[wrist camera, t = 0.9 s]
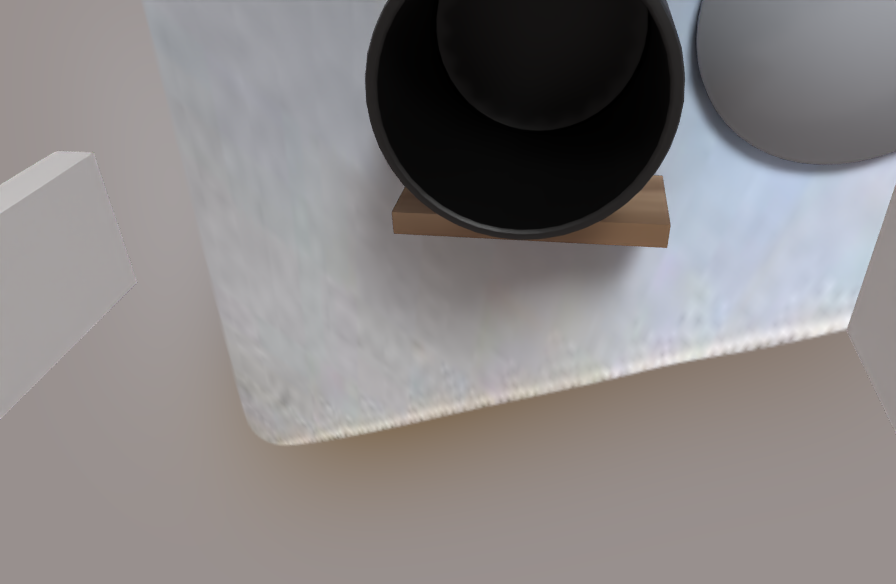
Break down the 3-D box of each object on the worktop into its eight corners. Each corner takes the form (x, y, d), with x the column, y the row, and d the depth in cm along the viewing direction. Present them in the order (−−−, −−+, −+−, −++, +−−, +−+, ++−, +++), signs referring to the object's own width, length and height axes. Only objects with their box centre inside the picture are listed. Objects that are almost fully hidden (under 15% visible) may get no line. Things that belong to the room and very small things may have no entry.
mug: (686, -207, 23) (724, -214, 16) (651, 139, 30) (666, 247, 22) (407, -184, 25) (326, -182, 18) (433, 138, 32) (382, 237, 24)
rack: (383, -277, 24) (342, -293, 20) (728, -304, 22) (753, -327, 18) (417, 186, 33) (393, 233, 29) (659, 196, 31) (667, 247, 28)
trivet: (722, -151, 24) (725, -150, 23) (1093, -166, 22) (1104, -165, 21) (677, 154, 30) (678, 160, 29) (964, 163, 28) (971, 169, 28)
